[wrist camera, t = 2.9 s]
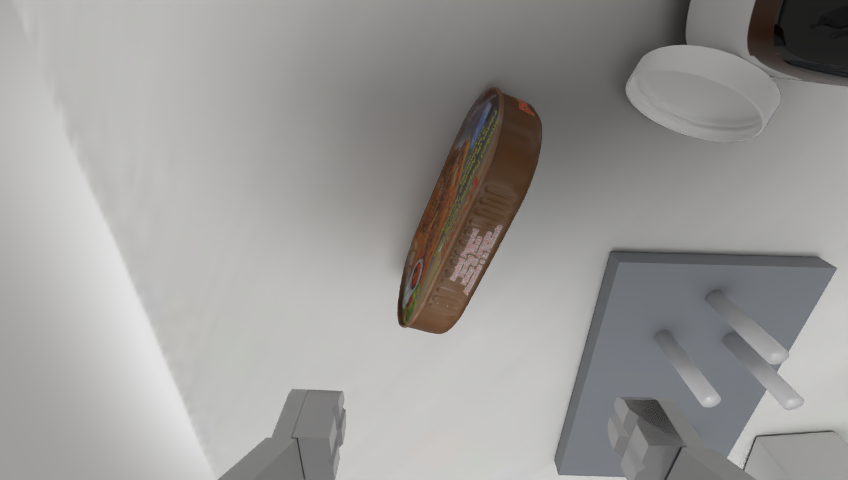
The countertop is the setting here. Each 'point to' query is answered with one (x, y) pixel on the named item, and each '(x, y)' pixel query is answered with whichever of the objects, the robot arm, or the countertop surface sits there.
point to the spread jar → (739, 64)
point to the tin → (469, 210)
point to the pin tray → (688, 345)
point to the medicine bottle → (799, 457)
